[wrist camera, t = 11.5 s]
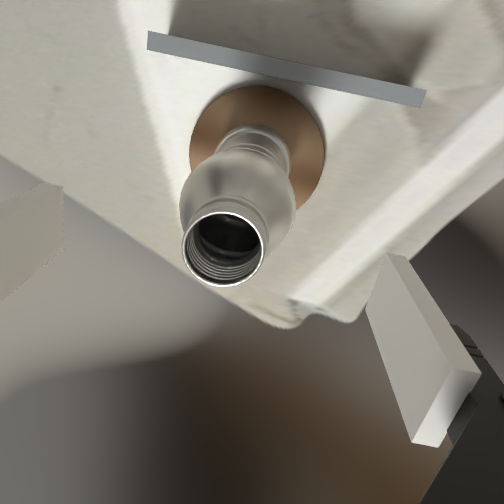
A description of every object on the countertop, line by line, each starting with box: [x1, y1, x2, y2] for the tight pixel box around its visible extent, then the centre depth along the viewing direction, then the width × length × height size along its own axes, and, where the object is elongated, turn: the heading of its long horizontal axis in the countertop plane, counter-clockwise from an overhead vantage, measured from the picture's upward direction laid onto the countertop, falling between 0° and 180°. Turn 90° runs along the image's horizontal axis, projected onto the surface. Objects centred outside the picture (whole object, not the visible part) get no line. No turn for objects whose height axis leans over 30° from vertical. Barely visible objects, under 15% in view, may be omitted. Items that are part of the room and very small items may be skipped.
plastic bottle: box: [179, 124, 296, 287], centre depth 26 cm, size 6×7×20 cm
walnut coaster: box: [189, 86, 324, 210], centre depth 35 cm, size 12×12×1 cm
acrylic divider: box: [147, 31, 427, 108], centre depth 30 cm, size 1×20×5 cm, turn 79°
